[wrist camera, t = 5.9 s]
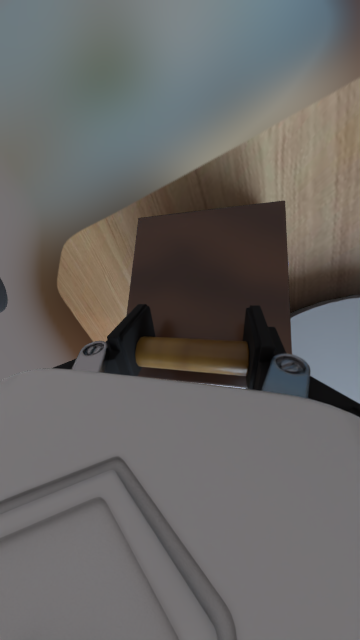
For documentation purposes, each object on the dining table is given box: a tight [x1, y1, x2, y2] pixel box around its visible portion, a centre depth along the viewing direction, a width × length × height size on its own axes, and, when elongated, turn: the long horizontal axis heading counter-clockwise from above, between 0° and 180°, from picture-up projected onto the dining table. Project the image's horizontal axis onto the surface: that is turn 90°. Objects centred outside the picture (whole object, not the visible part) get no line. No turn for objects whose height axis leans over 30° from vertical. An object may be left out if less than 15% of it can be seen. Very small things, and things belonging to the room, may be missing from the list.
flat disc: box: [246, 295, 360, 404], centre depth 29 cm, size 28×28×4 cm
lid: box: [127, 201, 292, 388], centre depth 13 cm, size 14×13×5 cm
